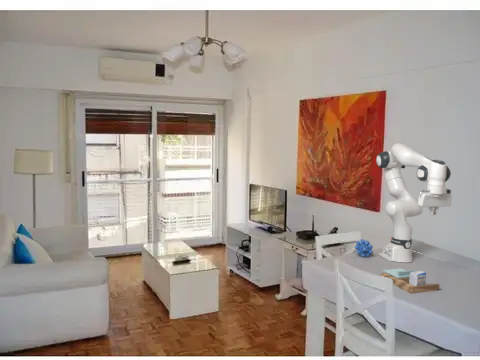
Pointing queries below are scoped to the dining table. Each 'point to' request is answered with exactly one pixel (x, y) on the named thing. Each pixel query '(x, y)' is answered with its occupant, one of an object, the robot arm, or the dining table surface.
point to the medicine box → (417, 278)
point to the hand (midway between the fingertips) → (433, 214)
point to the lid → (399, 273)
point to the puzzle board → (410, 288)
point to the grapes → (363, 248)
